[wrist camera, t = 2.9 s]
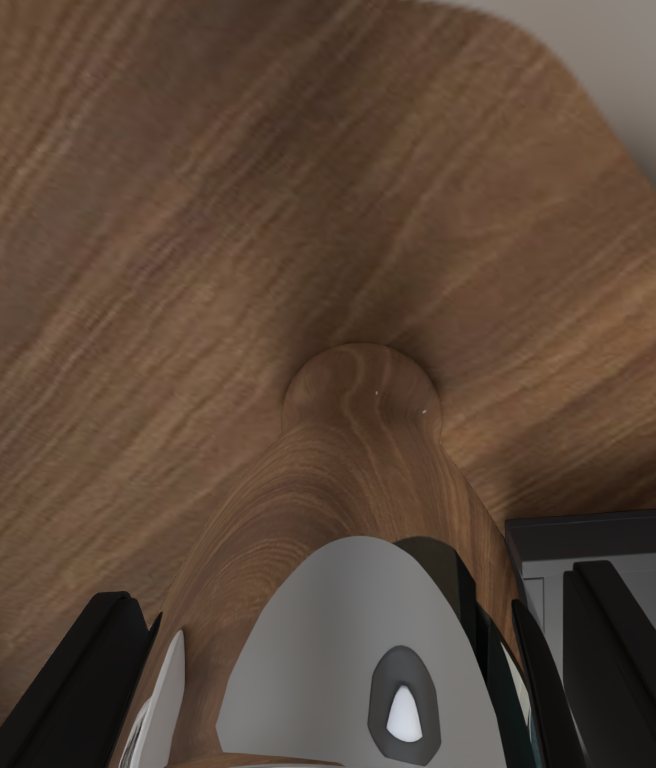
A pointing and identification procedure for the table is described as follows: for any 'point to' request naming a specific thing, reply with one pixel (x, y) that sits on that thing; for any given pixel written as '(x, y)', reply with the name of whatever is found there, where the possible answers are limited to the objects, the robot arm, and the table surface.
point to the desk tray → (583, 543)
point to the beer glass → (348, 604)
